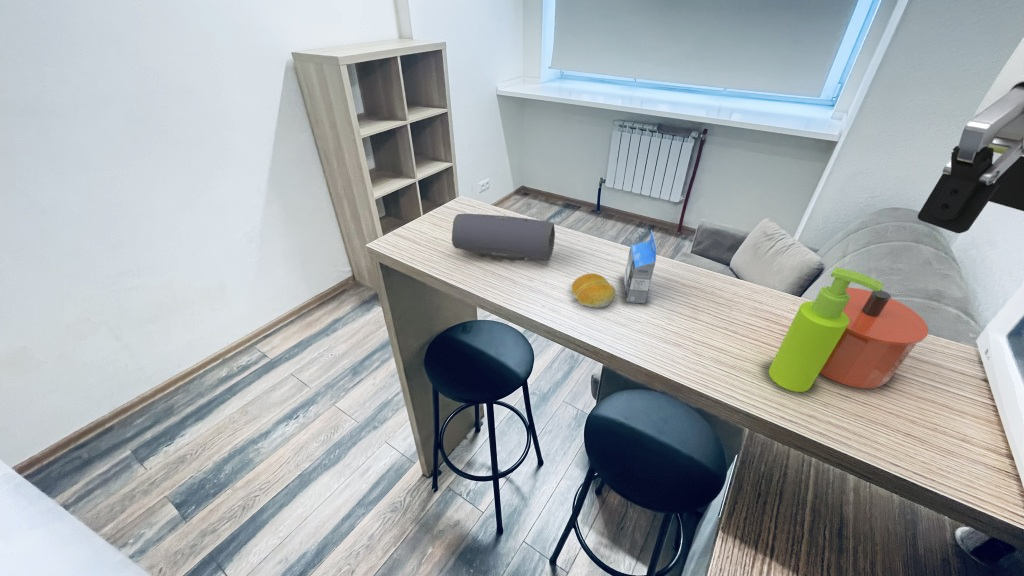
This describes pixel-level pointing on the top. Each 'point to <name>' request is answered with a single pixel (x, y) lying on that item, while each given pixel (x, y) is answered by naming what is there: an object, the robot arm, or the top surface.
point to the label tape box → (640, 270)
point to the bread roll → (593, 291)
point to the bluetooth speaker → (503, 236)
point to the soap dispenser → (816, 332)
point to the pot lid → (883, 318)
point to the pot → (863, 361)
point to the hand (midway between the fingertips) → (975, 215)
